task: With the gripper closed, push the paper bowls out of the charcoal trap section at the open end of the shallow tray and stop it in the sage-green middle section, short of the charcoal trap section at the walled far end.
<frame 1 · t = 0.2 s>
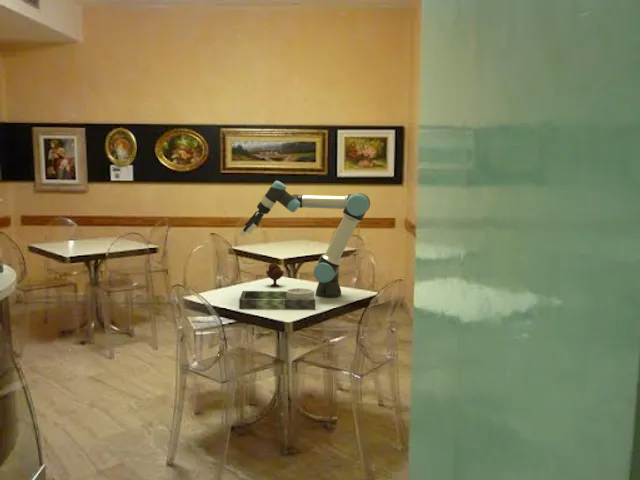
hand: (244, 234, 332), 36 cm above the table, tool tilted 35°, fingers open, 13 cm apart
shallow tray: (277, 304, 314), on the table
paper bowls: (299, 305, 315), on the table
ice cream bowl: (274, 286, 363), on the table
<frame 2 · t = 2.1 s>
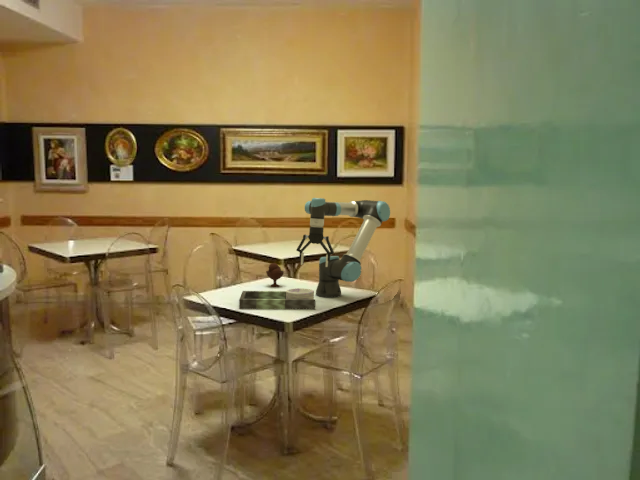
hand: (314, 265, 311), 22 cm above the table, tool pointing down, fingers open, 13 cm apart
nothing on the table moved.
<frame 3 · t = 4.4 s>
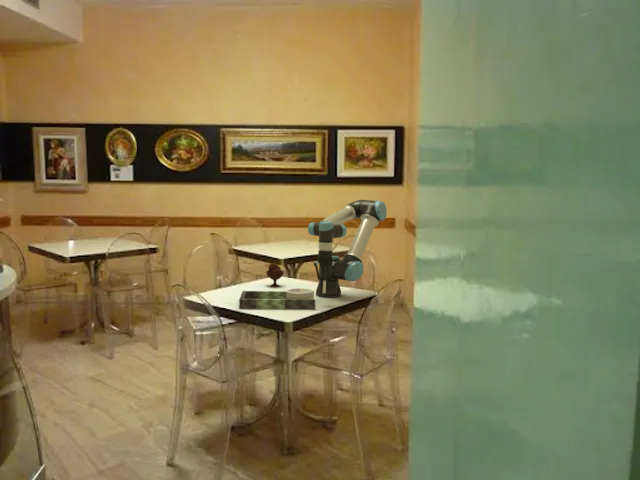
hand: (324, 292, 314), 7 cm above the table, tool pointing down, fingers closed
nothing on the table moved.
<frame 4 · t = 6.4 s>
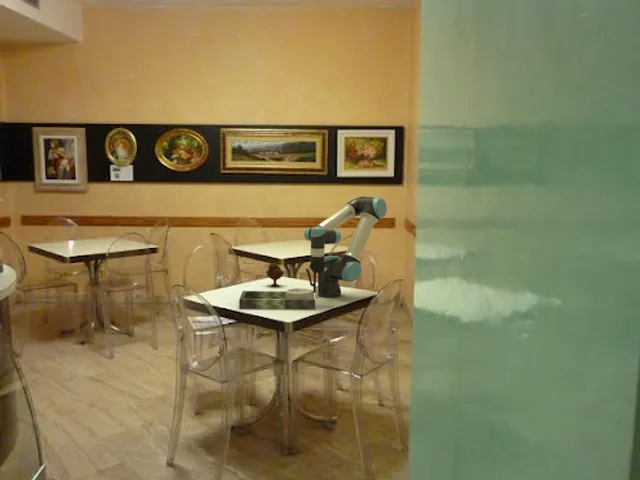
hand: (316, 298, 315), 3 cm above the table, tool pointing down, fingers closed
paper bowls: (299, 304, 315), on the table, touching gripper
everything else where it was.
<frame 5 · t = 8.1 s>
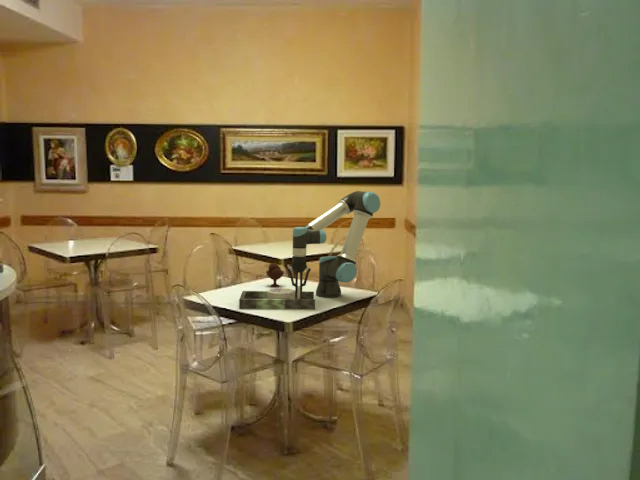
hand: (298, 298, 314), 4 cm above the table, tool pointing down, fingers closed
paper bowls: (281, 304, 314), on the table, touching gripper
everything else where it was.
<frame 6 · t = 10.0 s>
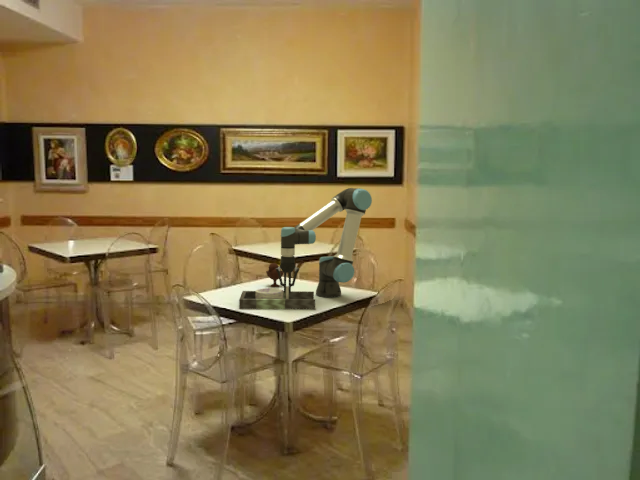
hand: (287, 298, 314), 3 cm above the table, tool pointing down, fingers closed
paper bowls: (269, 304, 313), on the table, touching gripper
everything else where it was.
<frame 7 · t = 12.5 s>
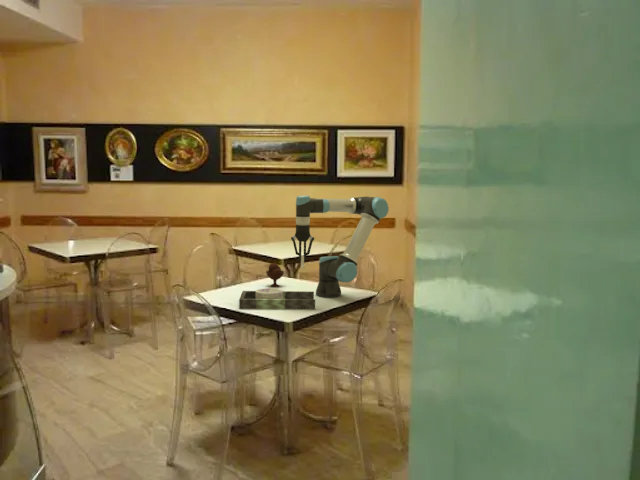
hand: (302, 267, 313), 20 cm above the table, tool pointing down, fingers closed
paper bowls: (269, 304, 313), on the table
everything else where it was.
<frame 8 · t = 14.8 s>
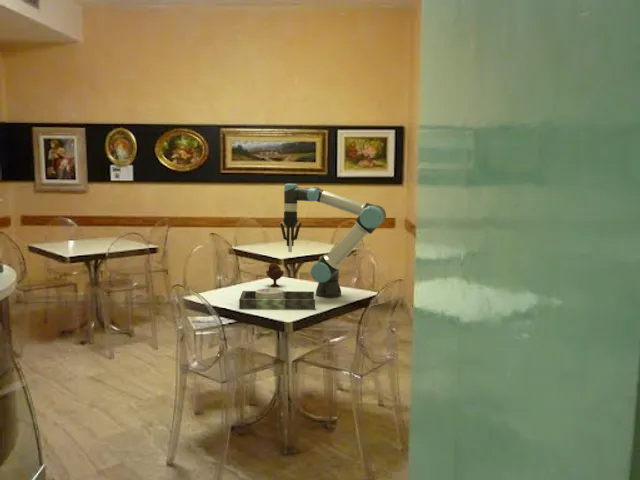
hand: (290, 251, 330), 26 cm above the table, tool pointing down, fingers closed
nothing on the table moved.
at the end: paper bowls inside the target area (1.0 cm from its centre), on the table; paper bowls tilted 0° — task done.
